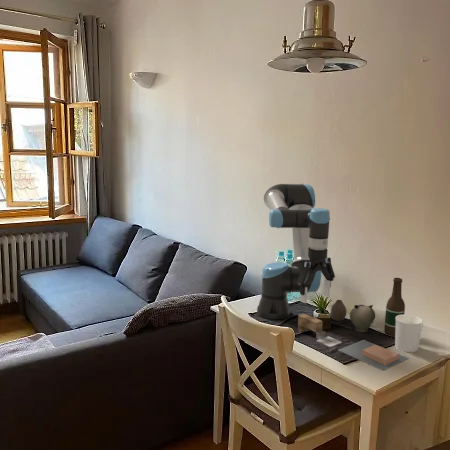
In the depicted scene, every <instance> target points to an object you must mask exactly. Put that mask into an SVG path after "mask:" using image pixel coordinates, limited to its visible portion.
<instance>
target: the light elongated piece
mask: <svg viewBox="0 0 450 450" xmlns="http://www.w3.org/2000/svg"><path fill="white" fill-rule="evenodd" d="M297 316H298V317H297V332H298V331H299V332H298V333H300V332H302V333H305V332H308V330H310V331H312V332H314V333H316V336H315V337H316V338H315V339H317V340H316V342H318V343H320V344H321V345H325V346H326V347H329V348H333V347H336V346H338V345H340V344H342V343H343V342H342V341H341V340H338V339H336V338H333V337H331V336H328V335H327V336H326V331H324V330H323V320H321V319H318V318H316V317H314V316H310V315H308V314H306V313H303V314H298V315H297ZM304 331H305V332H304Z"/></svg>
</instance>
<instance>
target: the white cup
mask: <svg viewBox="0 0 450 450" xmlns="http://www.w3.org/2000/svg"><path fill="white" fill-rule="evenodd" d="M423 322H424V321H423V319H422V318H420V317H418V316H416V315H412V314H404V315H397V316H396V326H395V337H394V346H395V348H396V349H397V350H399V351H403V352H406V353H407V352H408V353H414V352H417V351H418V350H419V345H420V341H421V334H422V333H421V332H422V328H423Z"/></svg>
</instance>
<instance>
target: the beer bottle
mask: <svg viewBox="0 0 450 450" xmlns="http://www.w3.org/2000/svg"><path fill="white" fill-rule="evenodd" d="M392 282H393V286H392V291H391V296H390V297H389V298H388V300H387V301H386V307H385V316H384V327H383V332H384V335H386V336H389V337H392V338H395V326H396V316H397V315H405V312H406V303H405V301H404V299H403V296H402V283H403V278H401V277H393V280H392Z"/></svg>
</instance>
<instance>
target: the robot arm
mask: <svg viewBox="0 0 450 450" xmlns="http://www.w3.org/2000/svg"><path fill="white" fill-rule="evenodd" d="M263 201H264V204H265V206H266V207H267V208H268V209H269V212H268V221H269V222H268V223H269V227H270V228H277V229H287V228H288V229H292V240H293V241H292V243H293V244H292V245H293V246H292V247H293V261H291V263H290V264H291V265H290V266H289V264H288V263H286V262H285V261H284V262H281V261H277V262H270V263H267V264H265V265H264V266H263V267H262V270H261V294H260V295H261V296H260V299H259V303H258V306H257V308H256V313H257V315H258V316H260V317H262V318H264V319H268V320H282V319H286V318H289V317H290V315H291V308H290V304H289V302H288V298H287V297H288V293H299V294H300V297H299V298H300V300H299V301H300V303H304V304H307V301H308V300H307V299H308V294H309V293H316V292H318V290H320V286H321V282H322V276H323V277H324V278H325V279H324V280H323V291H322V294H323V295H322V296H326V297H330V294H331V285H332V282H333V281H334V279H335V277H336V275H335V271H334V269H333V265H332V258H331V257H328V248H329V247H328V246H329V245H328V244H329V235H330V234H329V232H330V220H331V216H330V215H331V213H330V210H329V209H328V208H327V209H326V208H323V207H321V208H320V207H315V206H316V194H315V190H314V188H313V186H312V185H310V184H304V183H301V184H300V183H299V184H298V183H297V184H296V183H278V184H275V185H273V186H271V187H269V188H268V189H267V190H266V191H265V193H264V196H263Z"/></svg>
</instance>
